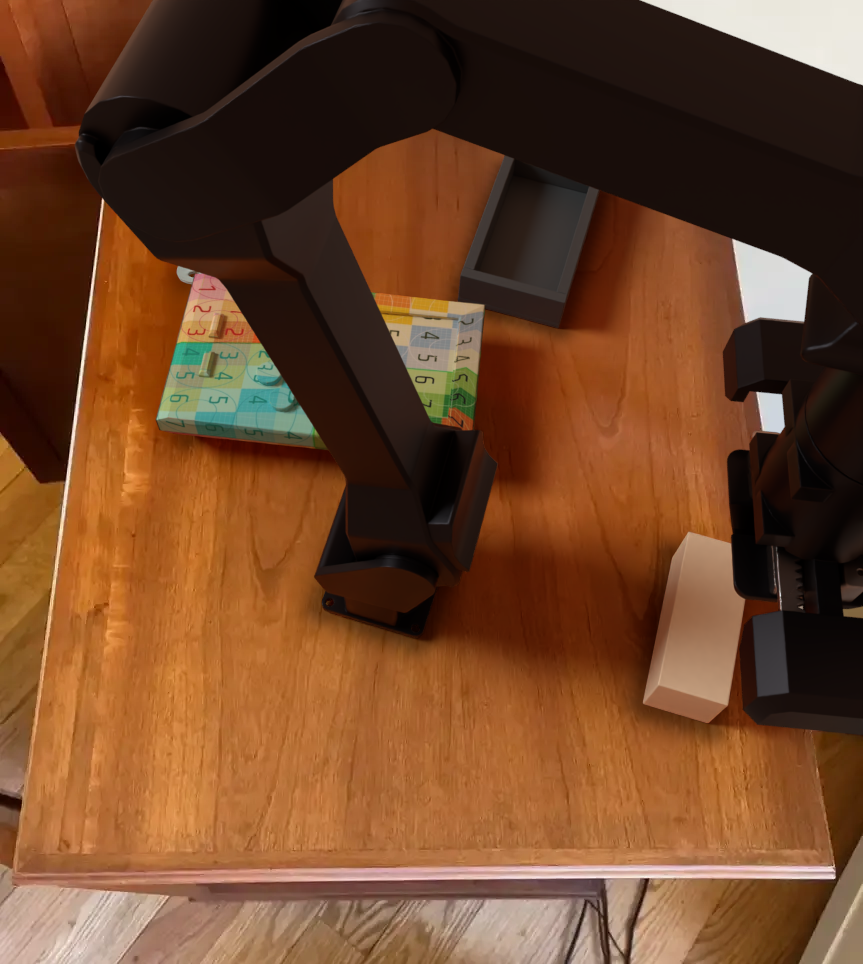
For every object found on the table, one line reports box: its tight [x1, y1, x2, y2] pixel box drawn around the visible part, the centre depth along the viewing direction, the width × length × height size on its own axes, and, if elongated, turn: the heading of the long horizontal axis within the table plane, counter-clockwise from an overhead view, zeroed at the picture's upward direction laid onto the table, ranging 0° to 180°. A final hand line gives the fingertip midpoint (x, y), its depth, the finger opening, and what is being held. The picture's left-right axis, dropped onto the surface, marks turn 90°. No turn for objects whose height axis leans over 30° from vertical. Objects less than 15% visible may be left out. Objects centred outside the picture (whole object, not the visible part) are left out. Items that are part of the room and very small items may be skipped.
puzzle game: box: [155, 274, 486, 451], centre depth 68 cm, size 12×5×20 cm
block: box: [642, 531, 746, 724], centre depth 61 cm, size 4×4×10 cm
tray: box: [457, 155, 601, 329], centre depth 75 cm, size 14×8×3 cm, turn 163°
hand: (748, 583), depth 51 cm, fingers closed
